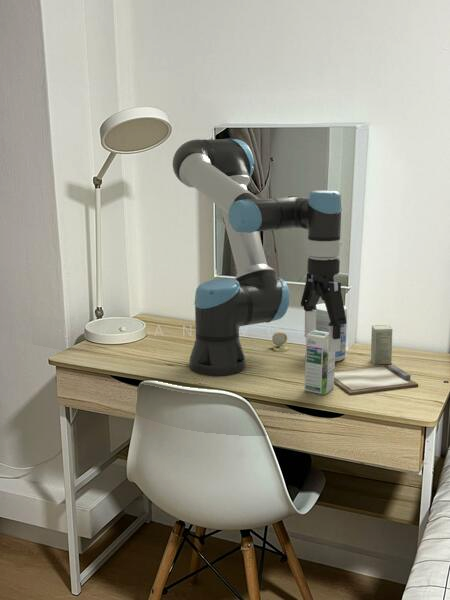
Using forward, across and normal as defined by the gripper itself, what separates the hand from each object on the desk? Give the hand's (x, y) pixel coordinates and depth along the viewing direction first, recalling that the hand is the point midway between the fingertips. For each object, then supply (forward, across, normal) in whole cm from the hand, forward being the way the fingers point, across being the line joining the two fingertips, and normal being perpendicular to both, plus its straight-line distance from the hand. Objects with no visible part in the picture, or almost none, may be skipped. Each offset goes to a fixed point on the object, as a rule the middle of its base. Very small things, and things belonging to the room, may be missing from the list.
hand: (321, 343), depth 170 cm
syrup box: (+12, +1, 0) cm, 12 cm away
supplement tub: (+12, +23, -13) cm, 29 cm away
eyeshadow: (+12, +34, -3) cm, 36 cm away
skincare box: (+12, +15, -25) cm, 31 cm away
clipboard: (+12, +3, -15) cm, 19 cm away
